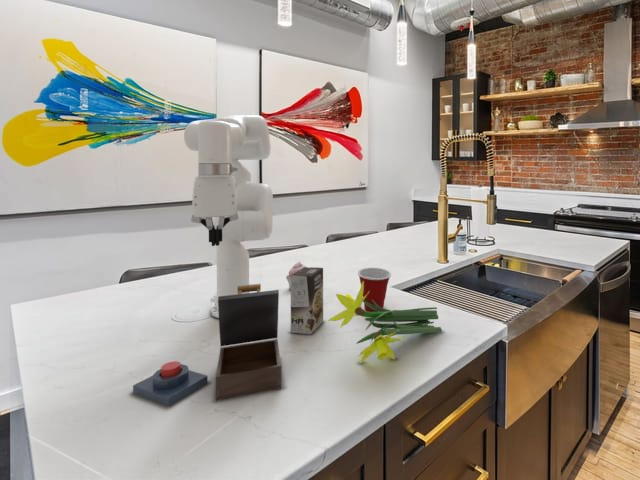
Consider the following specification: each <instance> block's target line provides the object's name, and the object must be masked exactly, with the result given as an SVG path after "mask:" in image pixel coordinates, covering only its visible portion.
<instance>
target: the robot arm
mask: <svg viewBox="0 0 640 480" xmlns="http://www.w3.org/2000/svg"><path fill="white" fill-rule="evenodd" d="M183 140H184V144H185V146H186V147H187V149H188V150H190V151H193V152H197V155H198V156H197V161H198V162H197V163H198V164H197V176H195V177H194V182H193V188H192V201H191V202H192V203H191V213H192V215H191V219H190V222H192V223H195V224H201V225H202V226H203V227H205V228H206V229H207V230H208V243H211V247H215V251H216V252H215V253H216V293H215V294H213V297H211V298H210V299H209V301H210V302H211V303H214V307H213V308H212V309H211V316H212V317H214V318H217V319H219V311H218V297H219V296H227V295H236V294H238V286H242V285H250V254H249V251H248V250H247V248H246V247H245V246H244V245H243V244H242V243H243V242H254V241H255V242H256V241H265V240H267V239H269V238H270V237H271V235H272V231H273V215H274V214H273V211H274V210H273V209H274V196H273V195H274V194H273V189H272V188H271V185H269V184H267V183H264V182H263V183H262V182H261V183H260V182H259V183H258V182H256V183H251V182H252V174H251V172H250V170H249V169H248V167H246V166H245V165H244V164H243V163H242V162H240V161H262V160H263V161H264V160H267V159H268V158H269V157H270V154H271V149H272V148H271V139H270V130H269V125H268V122H267V120H266V118H265V117H263V116H262V115H258V114H254V115H252V114H231V115H227V116H225V117H217V118H211V119H200V120H194V121H191V122H189V123H188V124H187V126H186V127H185V129H184V133H183ZM213 218H214V219H213ZM245 293H250V292H244V293H242V294H245Z"/></svg>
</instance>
